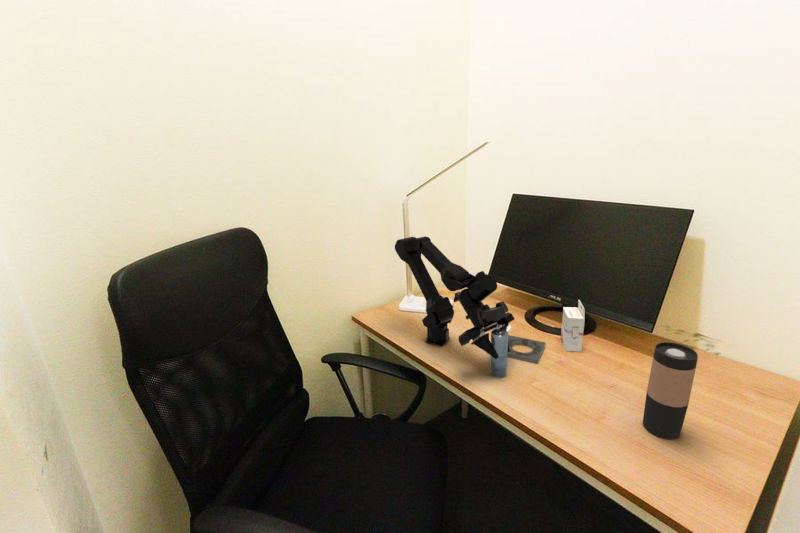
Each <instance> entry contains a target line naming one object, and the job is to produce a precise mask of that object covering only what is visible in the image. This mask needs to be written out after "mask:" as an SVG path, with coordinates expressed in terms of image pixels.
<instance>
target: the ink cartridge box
mask: <svg viewBox="0 0 800 533" xmlns="http://www.w3.org/2000/svg"><path fill="white" fill-rule="evenodd" d="M577 304H578V307H575V306H573V307H571V306H563V307H562V308H563V309H562V321H561V330H560V340H561V342H562V344H563V347H564V350H565V352H579V353H580V352H582V349H583V342H584V340H583V339H584V332H585V331H584V330H585V322H586V320H585V319H586V317H585V316H586V315H585V314H586V311H585V310H586V309H585V307H584V305H583V303H582V301H581V300H580V299H578V302H577Z"/></svg>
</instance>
